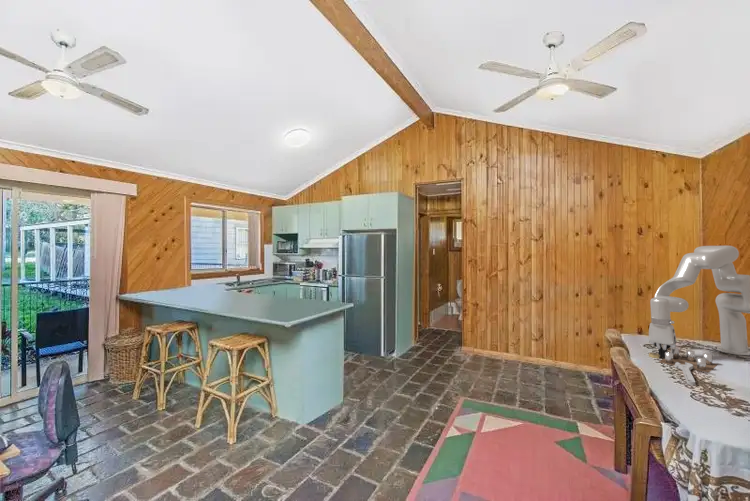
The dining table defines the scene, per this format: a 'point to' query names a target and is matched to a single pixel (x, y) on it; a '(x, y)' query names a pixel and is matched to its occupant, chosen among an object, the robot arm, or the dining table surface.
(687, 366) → the adjustable wrench
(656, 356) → the nut
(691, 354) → the spacers
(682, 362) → the board
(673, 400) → the dining table surface
